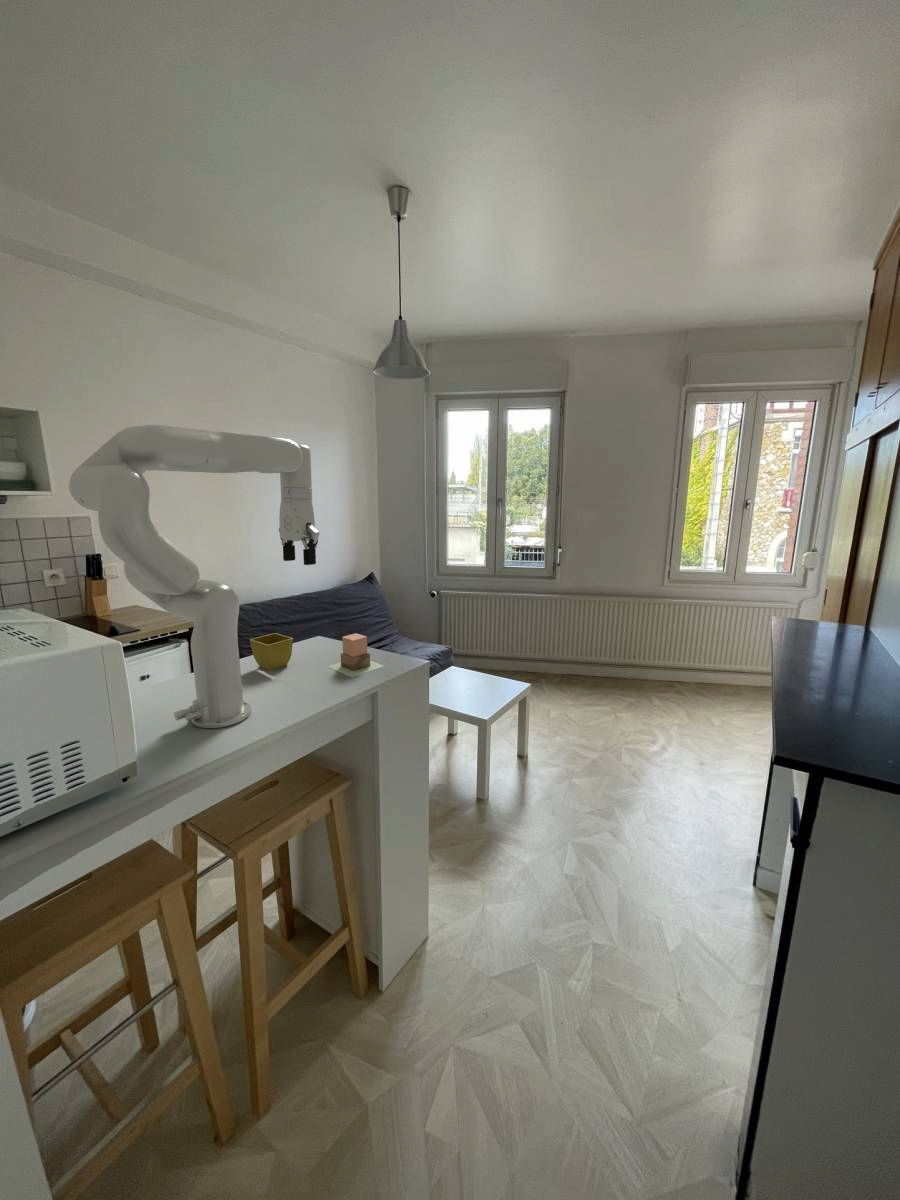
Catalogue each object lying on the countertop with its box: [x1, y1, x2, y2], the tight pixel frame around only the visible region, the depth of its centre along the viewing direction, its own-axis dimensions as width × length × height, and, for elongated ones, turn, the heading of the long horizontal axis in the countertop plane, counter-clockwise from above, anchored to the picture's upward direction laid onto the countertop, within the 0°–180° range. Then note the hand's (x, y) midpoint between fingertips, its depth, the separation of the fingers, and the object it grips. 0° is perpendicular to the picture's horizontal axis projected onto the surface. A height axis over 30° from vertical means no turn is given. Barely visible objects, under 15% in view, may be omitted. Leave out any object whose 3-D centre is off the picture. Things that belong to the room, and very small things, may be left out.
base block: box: [340, 651, 371, 671], centre depth 143 cm, size 6×6×4 cm
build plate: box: [326, 660, 385, 678], centre depth 144 cm, size 12×12×1 cm
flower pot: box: [249, 632, 294, 671], centre depth 143 cm, size 9×9×9 cm
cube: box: [341, 633, 368, 657], centre depth 142 cm, size 5×5×5 cm
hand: (299, 562), depth 128 cm, fingers open, 9 cm apart
